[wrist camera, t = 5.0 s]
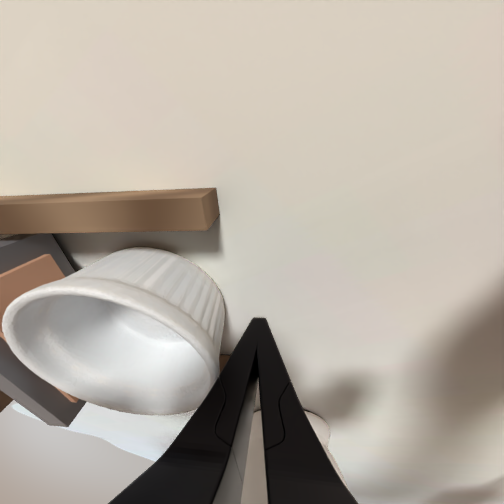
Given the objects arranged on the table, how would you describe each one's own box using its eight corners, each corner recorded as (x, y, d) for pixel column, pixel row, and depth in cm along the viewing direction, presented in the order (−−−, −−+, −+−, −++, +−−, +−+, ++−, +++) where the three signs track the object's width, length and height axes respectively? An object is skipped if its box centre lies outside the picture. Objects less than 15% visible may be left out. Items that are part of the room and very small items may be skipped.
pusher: (54, 229, 9) (-103, 286, 5) (127, 350, 14) (73, 427, 10) (28, 230, 9) (-143, 286, 6) (109, 349, 14) (48, 425, 10)
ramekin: (150, 200, 8) (55, 239, 5) (262, 313, 11) (260, 393, 8) (68, 285, 12) (-29, 349, 8) (173, 357, 15) (140, 429, 11)
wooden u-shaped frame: (215, 187, 8) (175, 215, 4) (240, 364, 14) (231, 433, 11) (-104, 200, 10) (-320, 228, 6) (46, 355, 16) (-16, 412, 12)
